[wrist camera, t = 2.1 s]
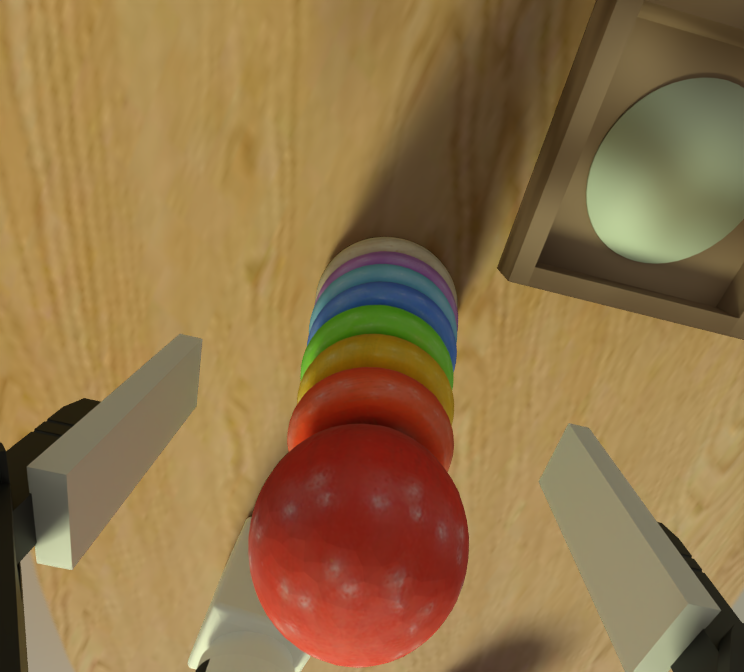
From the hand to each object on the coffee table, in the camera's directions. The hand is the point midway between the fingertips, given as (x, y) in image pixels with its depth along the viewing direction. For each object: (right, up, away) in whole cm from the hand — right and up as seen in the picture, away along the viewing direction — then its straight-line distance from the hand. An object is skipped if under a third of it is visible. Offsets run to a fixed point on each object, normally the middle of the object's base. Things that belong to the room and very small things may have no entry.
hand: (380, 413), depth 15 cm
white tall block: (-8, -15, +19) cm, 25 cm away
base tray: (+14, +11, +6) cm, 19 cm away
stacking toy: (0, +5, +10) cm, 11 cm away
